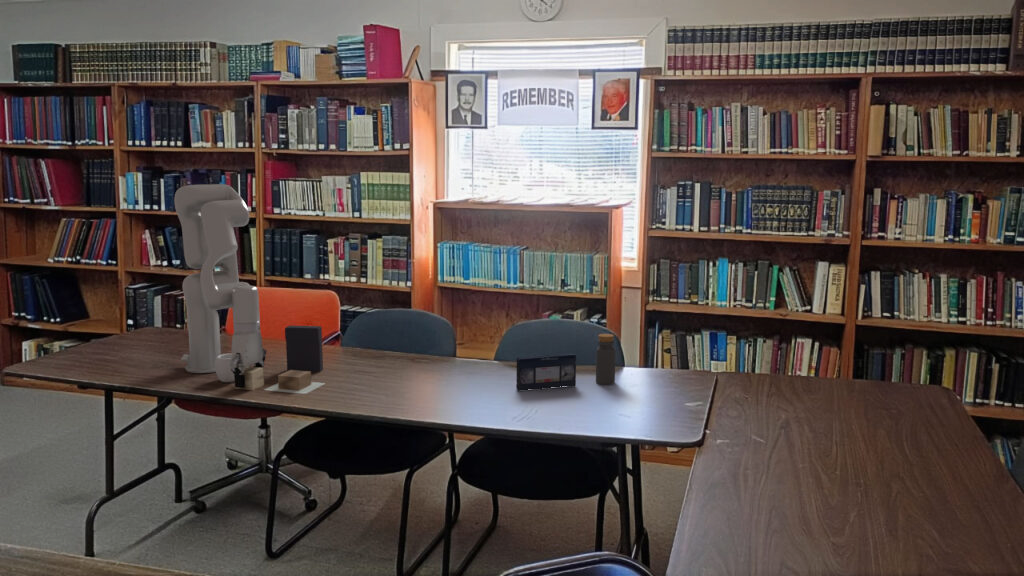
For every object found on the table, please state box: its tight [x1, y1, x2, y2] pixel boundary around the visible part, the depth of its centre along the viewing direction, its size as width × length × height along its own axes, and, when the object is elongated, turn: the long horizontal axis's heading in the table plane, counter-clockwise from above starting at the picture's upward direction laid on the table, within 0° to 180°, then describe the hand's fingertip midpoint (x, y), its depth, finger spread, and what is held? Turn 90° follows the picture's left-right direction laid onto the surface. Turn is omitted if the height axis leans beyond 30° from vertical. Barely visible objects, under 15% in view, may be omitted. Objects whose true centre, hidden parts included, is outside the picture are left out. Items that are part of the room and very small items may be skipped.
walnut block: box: [277, 370, 312, 391], centre depth 257 cm, size 7×7×4 cm
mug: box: [215, 352, 241, 383], centre depth 267 cm, size 12×8×8 cm
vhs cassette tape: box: [515, 353, 577, 391], centre depth 258 cm, size 18×3×10 cm, turn 105°
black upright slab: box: [284, 325, 324, 373], centre depth 275 cm, size 11×4×15 cm, turn 84°
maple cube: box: [234, 366, 265, 391], centre depth 257 cm, size 6×6×6 cm
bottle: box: [595, 333, 616, 386], centre depth 264 cm, size 6×6×15 cm
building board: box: [263, 381, 326, 395], centre depth 257 cm, size 14×12×1 cm
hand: (249, 383), depth 257 cm, fingers open, 9 cm apart
